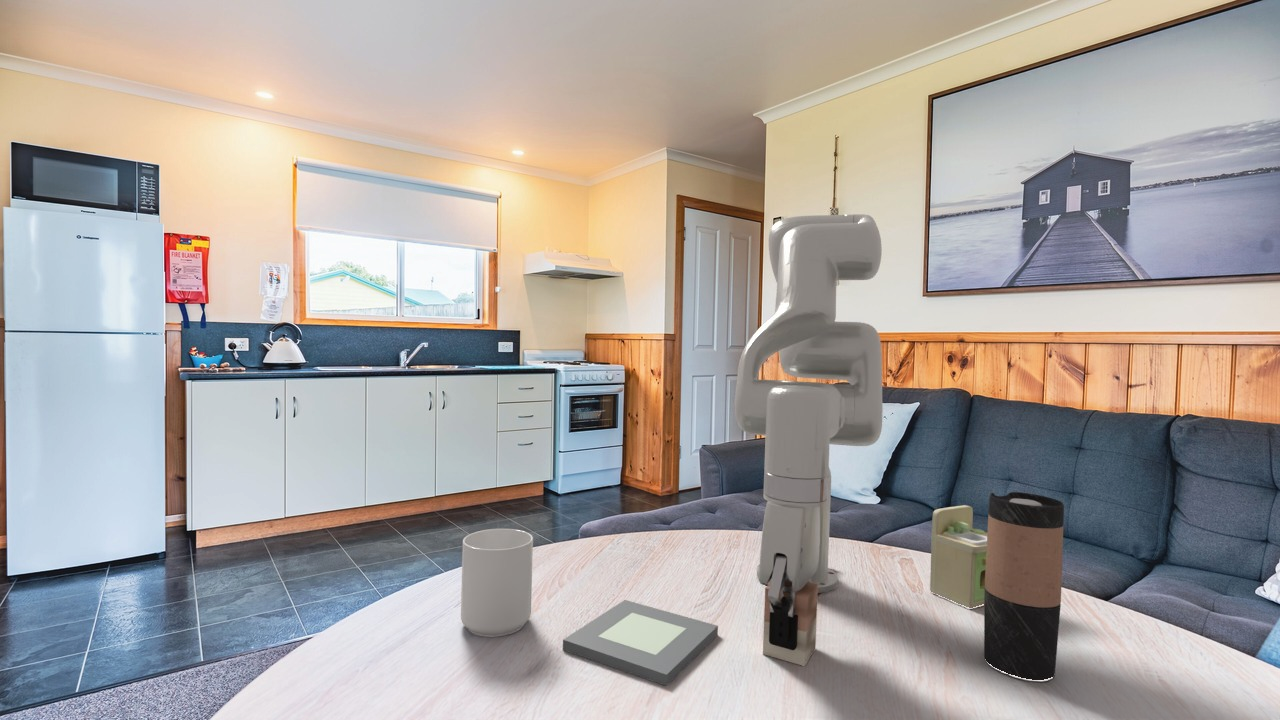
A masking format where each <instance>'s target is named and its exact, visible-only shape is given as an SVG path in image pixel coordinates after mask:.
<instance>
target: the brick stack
mask: <svg viewBox="0 0 1280 720" xmlns="http://www.w3.org/2000/svg"><path fill="white" fill-rule="evenodd" d="M784 586H787V587H791V586H792V583H791V582H786V581H785V583H784ZM769 587H770V584H769V585H766V586H765V589H764V611H763V614H764V616H763V637H762V638H763V639H762V640H763V641H762V655H765V656H768V657H772V658H775V659H779V660H781V661H785V662H789V663H793V664H795V665H799V666H803V667H805V666H806V664H807V663H808V661H809V660H810V658H811V656H812V655H813V653H814V652H815V651H816V642H817V641H816V639H817V616H818V615H817V613H818V594H819V593H818V584H815V583H811V582H807V583H806V584H805V586H804V587H803V588H802V589H800V590H799V591H798V592H797V601H796V610H795V615H798V630H797V647H796V649H795V650H790V649H786V648H783V647H779V646H775V645H772V644H770V642H769V624H770V601H769V599H768V591H769ZM783 595H784V597H787V599H788V602H789V600H790V593H786V592H783Z"/></svg>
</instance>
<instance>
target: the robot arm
mask: <svg viewBox="0 0 1280 720" xmlns="http://www.w3.org/2000/svg"><path fill="white" fill-rule="evenodd" d="M768 252H769V259H770V260H769V261H770V264H771V269H772V273H773V276H774V280H775V282H776V296H775V304H774V305H775V308H774V314H773V315H772V316H770V318H769V319H768V320H766V321H765V322H764V323H763V324H762V325H761V326H760V327H759V328H758V329H757V330H756V331H755V332H754V334H753V335H752V336H751V337H750V338H749V340H748V341H747V343H746V345H745V346H744V349H743V351H742V352H741V356H740V358H739V361H738V367H737V376H736V377H737V378H736V387H735V394H734V395H735V396H734V417H735V421H736V424H737V425H738V427H739V429H740V430H742V431H743V432H745V433H747V434H749V435H756V436H765V437H764V438H765V442H764V445H765V447H764V471H763V472H764V475H763V499H764V500H766V501H767V502H766V503H765V504H766V506H765V509H764V517H763V524H762V532H761V542H760V553H759V564H758V565H757V567H756V577H758V581H759V583H760V585H762V586H765V585H766V586H768V585H769V584H770V587H769V591H768V599H769V601H770V624H769V642H770V644H772V645H775V646H779V647H783V648H786V649H790V650H795V649H796V647H797V630H798V615H795V610H796V601H797V592H798V591H799V590H800V589H802V588H803V587H804V586H805V584H806V583H807V582H811V583H815V584H818V593H817V594H822V593H828V592H830V591H833V590H834V589H836V588H837V586H838V582H839V577H838V574H836V572H835V571H834V570H832V569H831V568H829V554H830V553H829V551H830V525H831V524H830V521H831V500H832V499H831V495H832V494H831V493H832V472H831V469H830V445H835V446H836V445H837V446H850V447H851V446H852V447H868V446H871V445H874V444H875V443H877V442H878V441H879V438H880V436H881V435H882V429H883V409H884V408H883V355H882V341H881V338H880V334H879V333H878V331H877V329H876V328H875V327H874V326H873V325H871V324H869V323H865V322H860V321H835V320H836V317H837V281H868V280H871V279H872V278H874V277H875V276H876V275H877V273H878V271H879V269H880V266H881V262H882V261H881V260H882V238H881V233H880V231H879V227H878V225H877V223H876V221H875V219H874V218H873V217H872V216H871V215H869V214H863V213H862V214H860V213H859V214H832V215H831V214H827V215H826V214H825V215H822V214H820V215H815V214H814V215H798V216H792V217H791V216H790V217H787V218H783V219H780V220H777V222H775V223H774V224H773V225H772V226H771V228H770V230H769V234H768ZM775 353H779V363H780V367H781V369H782V371H783V372H784V373H785V374H787V375H788V376H791V377H795V378H801V379H803V378H804V379H814V380H815V379H817V380H818V379H819V380H837V381H838V380H839V381H840V380H841V381H842V380H843V381H847V382H848V383H849V384H842V383H841V384H839V383H838V384H837V383H827V382H816V381H798V380H777V379H759V378H758V377H759V373H760V369H761V367H762V365H763V364H764V363H765V362H766V361H767V360H768V359H769V358H770V357H772V356H773V355H774V354H775ZM785 581H786V582H791V583H792V586H791V587H787V586H784V583H785ZM783 592H786V593H790V600H789V602H788V599H787V597H784V595H783Z"/></svg>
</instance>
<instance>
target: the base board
mask: <svg viewBox="0 0 1280 720" xmlns="http://www.w3.org/2000/svg"><path fill="white" fill-rule="evenodd" d="M718 630H719V625H717V624H713V623H710V622H705V621H703V620H699V619H695V618H692V617H688V616H684V615H681V614H677V613H674V612H670V611H667V610H663V609H659V608H656V607H654V606H653V607H652V606H649V605H645V604H642V603H638V602H635V601H630V600H628V599H627V600H626V599H624V600H622V601H621V602H619V603H618V604H616V605H614V606H613V607H612V608H610V609H609V610H607V611H605V612H604V613H602V614H601V615H599V616H598V617H596V618H594V619H593V620H591V621H590V622H588V623H586V625H583V626H582V627H581V628H579V629H578V630H576V631H574V632H573V633H571V634H570V635H568V636H566V637H564V638H562V650H563V651H566V652H569V653H572V654H574V655H578V656H580V657H582V658H586V659H589V660H591V661H595V662H597V663H600V664H603V665H606V666H609V667H612V668H615V669H617V670H620V671H624V672H626V673H629V674H632V675H635V676H637V677H640V678H644V679H646V680H649V681H651V682H655V683H657V684H660V685H663V686H667V685H668V684H670V682H671V681H673V679H675V678H676V677H677V676H678V675H679V674H680V673H681V672H682V671H683V670H684V669H685V667H687V666H688V665H690V663H691V662H692V661H693V660H694V659H695V658H696V657H698V655H699V654H700V653H701V652H702V651H703V650H704V649H705V648H706V647H708V645H709V644H710V643H711V642H712V641H713V640H715V638H717V636H718V634H719V631H718Z"/></svg>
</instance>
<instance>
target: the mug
mask: <svg viewBox="0 0 1280 720" xmlns="http://www.w3.org/2000/svg"><path fill="white" fill-rule="evenodd" d="M533 548H534V536H533V535H532V534H530V532H527V531H524V530H520V529H515V528H514V529H513V528H490V529H484V530H483V529H482V530H480V531H479V530H478V531H475V532H472V533H469V534H467V535H466V536H465V537H463V539H462V552H461V553H462V557H461V591H460V593H461V594H460V596H461V598H460V599H461V600H460V620H461V623H462V624H463V626H464V627H465V628H466V629H467V630H468V631H469V632H470V633H472V634H473V635H476V636H480V637H486V638H487V637H488V638H491V637H492V638H495V637H503V636H508V635H511V634H513V633H516V632H518V631H519V630H521V629H522V628H523V626H524V625H525V624H526V623H527V622H528V620H530V617H531V614H532V593H533V592H532V591H533V590H532V589H533V586H532V584H533V582H532V581H533V555H534V554H533V552H534V551H533V550H534V549H533Z"/></svg>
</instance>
